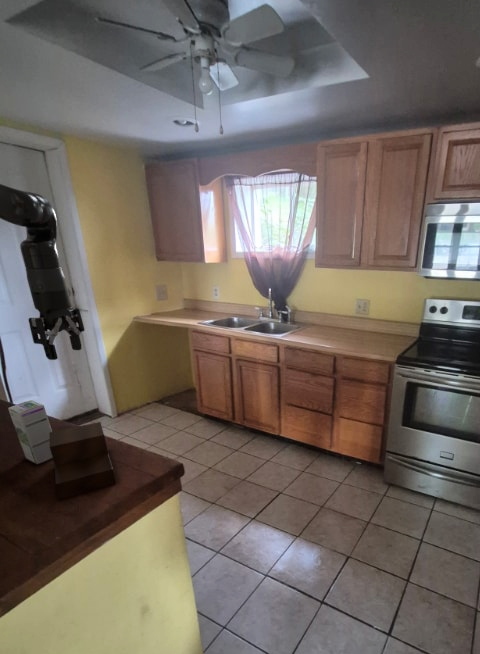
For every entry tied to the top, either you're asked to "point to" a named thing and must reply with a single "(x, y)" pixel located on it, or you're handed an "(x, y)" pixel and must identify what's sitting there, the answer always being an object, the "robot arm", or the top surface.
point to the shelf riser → (81, 459)
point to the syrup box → (32, 430)
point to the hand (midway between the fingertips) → (65, 354)
